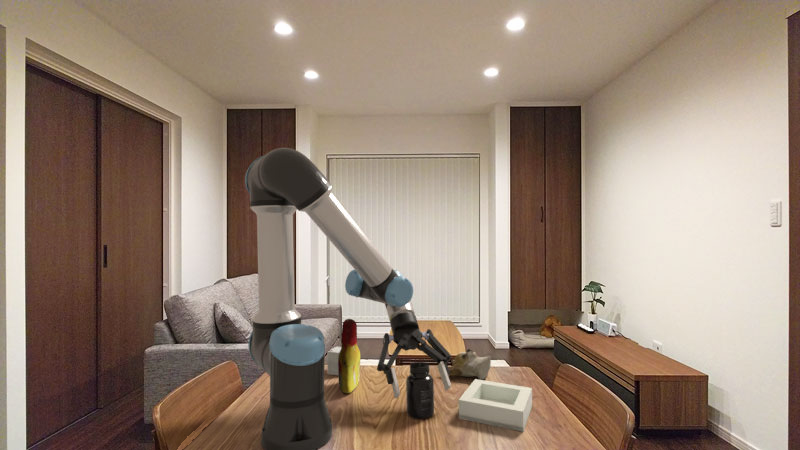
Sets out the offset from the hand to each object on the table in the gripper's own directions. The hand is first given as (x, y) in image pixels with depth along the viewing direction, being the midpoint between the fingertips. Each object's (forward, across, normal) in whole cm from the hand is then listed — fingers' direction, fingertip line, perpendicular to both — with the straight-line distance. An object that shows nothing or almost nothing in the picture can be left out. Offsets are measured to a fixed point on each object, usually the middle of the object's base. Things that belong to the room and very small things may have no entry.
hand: (423, 392), depth 97 cm
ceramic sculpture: (-10, -23, -18) cm, 31 cm away
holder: (+8, -18, 0) cm, 19 cm away
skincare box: (-22, +14, -30) cm, 40 cm away
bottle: (-12, +14, -20) cm, 27 cm away
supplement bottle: (+4, +1, -5) cm, 6 cm away
